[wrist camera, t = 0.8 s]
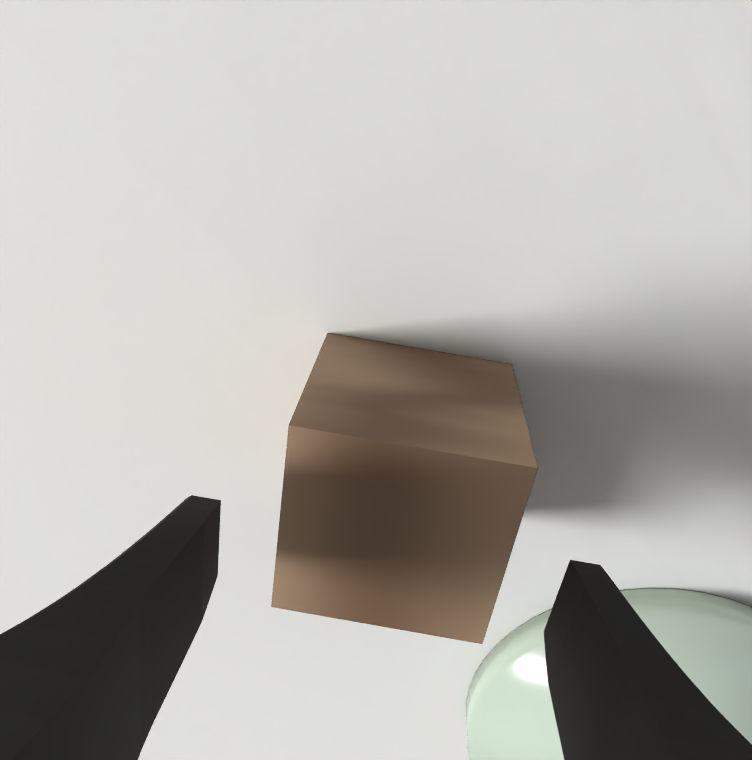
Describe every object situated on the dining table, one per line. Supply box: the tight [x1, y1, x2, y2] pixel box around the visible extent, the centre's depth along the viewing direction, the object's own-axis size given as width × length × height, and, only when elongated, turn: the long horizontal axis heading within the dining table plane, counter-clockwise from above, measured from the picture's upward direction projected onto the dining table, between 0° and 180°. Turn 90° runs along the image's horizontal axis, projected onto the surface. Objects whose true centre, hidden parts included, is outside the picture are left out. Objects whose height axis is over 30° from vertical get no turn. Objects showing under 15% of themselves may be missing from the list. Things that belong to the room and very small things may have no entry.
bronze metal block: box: [271, 333, 538, 644], centre depth 16 cm, size 5×5×5 cm
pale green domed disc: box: [466, 589, 752, 760], centre depth 22 cm, size 12×12×1 cm
